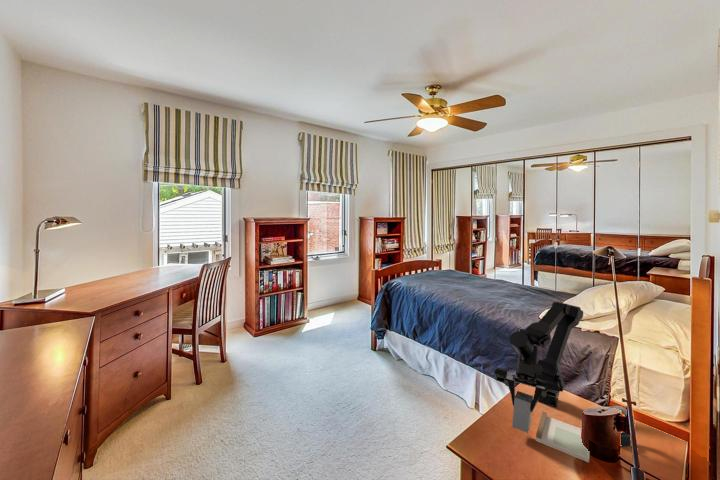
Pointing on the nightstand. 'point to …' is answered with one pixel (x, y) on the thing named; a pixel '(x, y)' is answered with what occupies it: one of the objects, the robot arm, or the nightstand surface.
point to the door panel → (561, 437)
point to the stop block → (522, 411)
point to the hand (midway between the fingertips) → (522, 408)
